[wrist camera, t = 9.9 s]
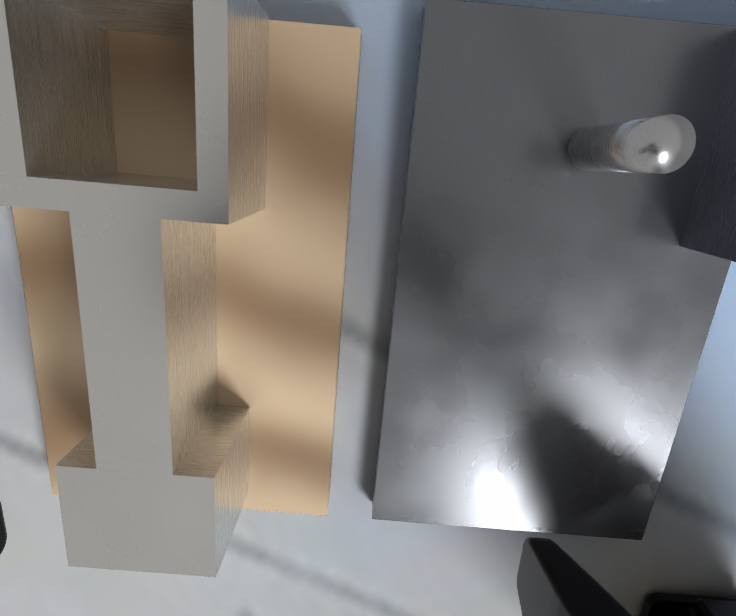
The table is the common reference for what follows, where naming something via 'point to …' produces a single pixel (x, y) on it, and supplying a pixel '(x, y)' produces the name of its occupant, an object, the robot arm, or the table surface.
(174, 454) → the white open-top bracket
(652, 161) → the plate
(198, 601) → the table surface
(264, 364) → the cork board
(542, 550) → the robot arm
